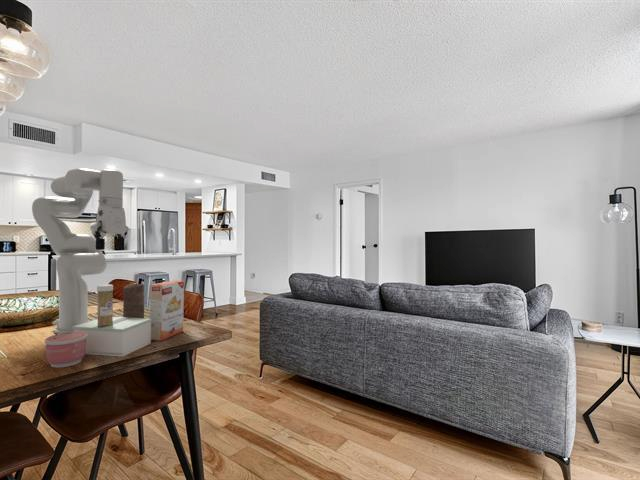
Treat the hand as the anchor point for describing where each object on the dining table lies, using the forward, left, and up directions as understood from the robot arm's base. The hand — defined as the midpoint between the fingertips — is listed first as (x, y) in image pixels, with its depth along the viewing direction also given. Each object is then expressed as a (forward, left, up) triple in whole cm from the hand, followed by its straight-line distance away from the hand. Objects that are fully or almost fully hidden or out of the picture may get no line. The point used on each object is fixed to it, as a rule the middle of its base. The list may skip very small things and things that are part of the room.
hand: (110, 249), depth 129 cm
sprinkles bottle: (+9, -12, -25) cm, 29 cm away
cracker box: (+18, +8, -34) cm, 40 cm away
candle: (+5, +6, -34) cm, 35 cm away
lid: (+9, -9, -26) cm, 29 cm away
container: (+5, -23, -34) cm, 42 cm away
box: (+9, -9, -34) cm, 36 cm away
